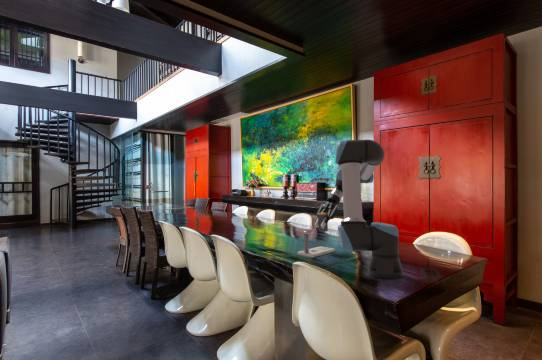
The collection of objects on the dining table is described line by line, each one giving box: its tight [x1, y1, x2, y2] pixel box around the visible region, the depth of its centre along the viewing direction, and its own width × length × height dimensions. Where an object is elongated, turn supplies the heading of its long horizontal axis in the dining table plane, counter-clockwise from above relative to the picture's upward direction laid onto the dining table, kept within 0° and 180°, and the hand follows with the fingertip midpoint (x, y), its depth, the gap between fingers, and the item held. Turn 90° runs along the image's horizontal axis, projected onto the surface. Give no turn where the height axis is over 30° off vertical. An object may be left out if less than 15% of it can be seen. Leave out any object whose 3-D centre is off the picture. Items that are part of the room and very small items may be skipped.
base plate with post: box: [297, 234, 336, 259], centre depth 175 cm, size 21×11×13 cm, turn 132°
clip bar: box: [292, 227, 310, 235], centre depth 176 cm, size 17×3×2 cm, turn 22°
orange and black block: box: [317, 212, 329, 233], centre depth 180 cm, size 4×4×11 cm
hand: (318, 226), depth 177 cm, fingers closed on orange and black block, 4 cm apart
